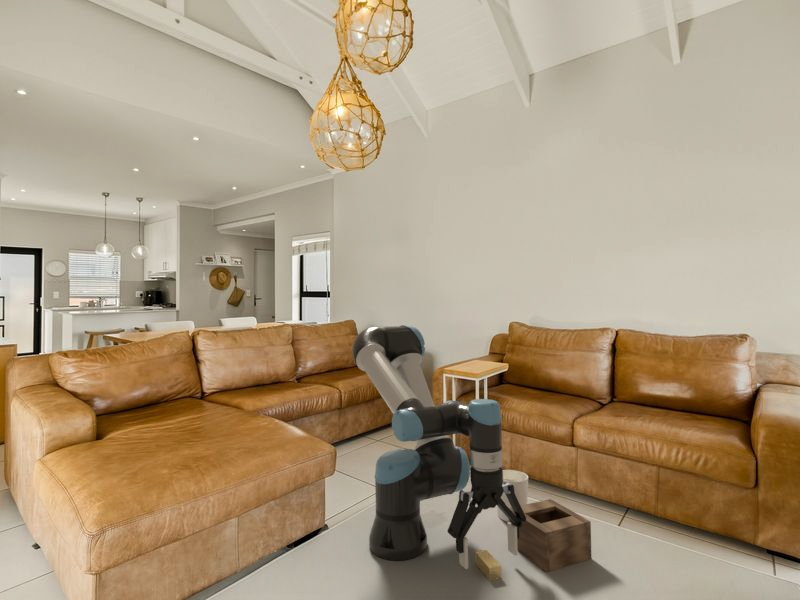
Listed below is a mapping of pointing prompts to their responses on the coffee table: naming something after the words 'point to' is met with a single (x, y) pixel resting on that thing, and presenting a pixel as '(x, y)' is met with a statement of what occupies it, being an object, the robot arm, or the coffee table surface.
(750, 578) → the coffee table surface
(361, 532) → the coffee table surface
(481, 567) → the yellow rectangular block
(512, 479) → the candle holder
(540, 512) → the box
